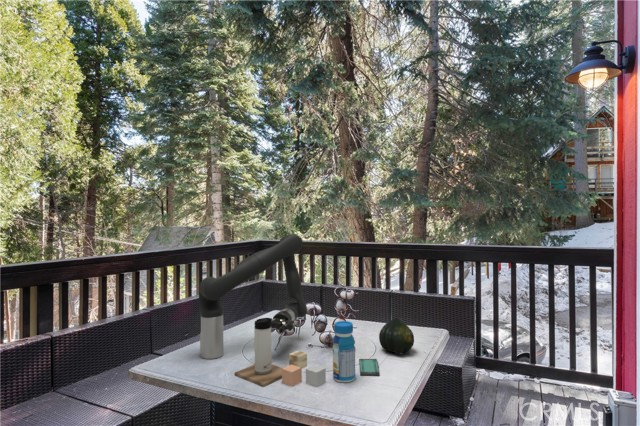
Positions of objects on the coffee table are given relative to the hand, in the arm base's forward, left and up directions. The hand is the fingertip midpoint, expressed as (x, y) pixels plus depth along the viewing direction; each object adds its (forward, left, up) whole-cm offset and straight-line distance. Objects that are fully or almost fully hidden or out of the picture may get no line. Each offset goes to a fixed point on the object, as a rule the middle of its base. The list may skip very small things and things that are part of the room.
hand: (269, 330), depth 150 cm
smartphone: (+31, +23, -15) cm, 42 cm away
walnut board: (+3, -7, -14) cm, 16 cm away
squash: (+31, +45, -15) cm, 57 cm away
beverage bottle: (+29, +9, -15) cm, 34 cm away
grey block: (+23, 0, -15) cm, 27 cm away
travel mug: (+3, -6, -14) cm, 15 cm away
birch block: (+8, +7, -15) cm, 18 cm away
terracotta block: (+16, -5, -15) cm, 22 cm away
